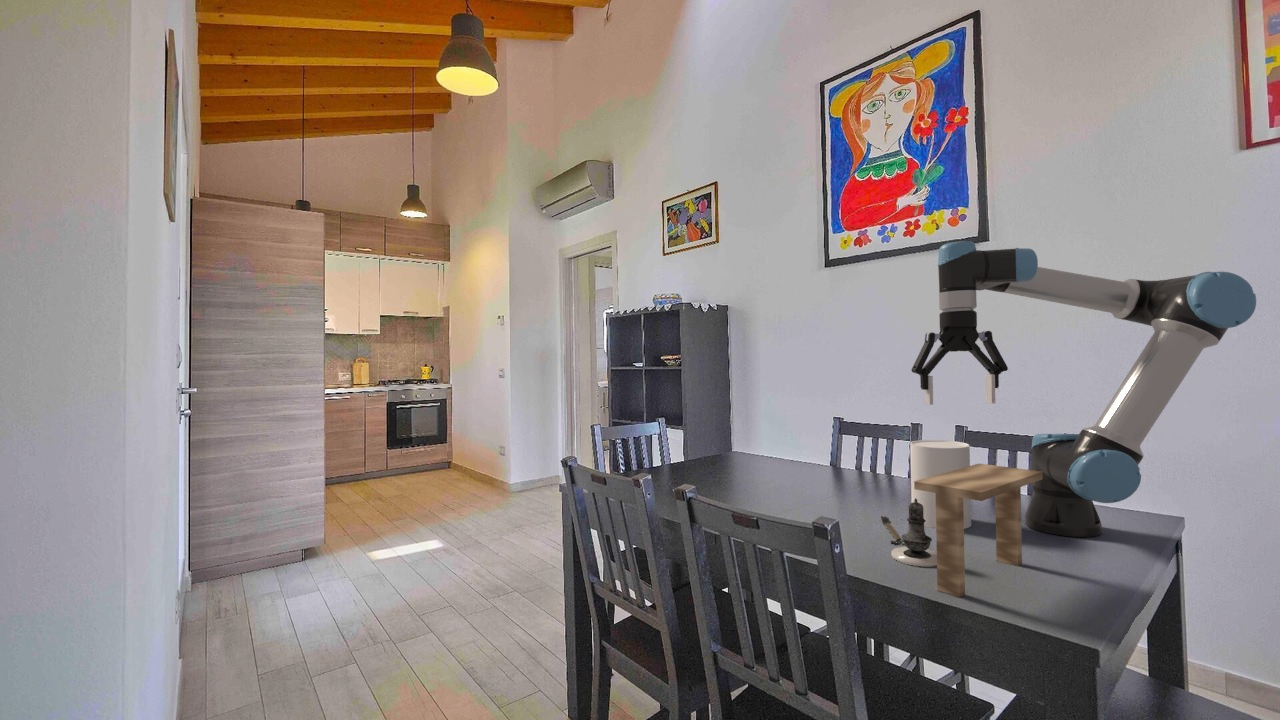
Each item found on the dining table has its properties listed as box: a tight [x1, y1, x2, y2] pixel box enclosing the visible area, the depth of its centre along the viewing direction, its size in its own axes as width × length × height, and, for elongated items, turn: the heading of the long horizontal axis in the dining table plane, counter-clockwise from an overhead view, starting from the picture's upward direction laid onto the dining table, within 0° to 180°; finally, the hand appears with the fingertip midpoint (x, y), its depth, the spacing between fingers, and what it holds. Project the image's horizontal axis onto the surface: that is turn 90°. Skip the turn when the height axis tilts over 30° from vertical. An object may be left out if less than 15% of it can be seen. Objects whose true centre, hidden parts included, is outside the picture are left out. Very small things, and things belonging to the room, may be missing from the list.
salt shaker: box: [900, 498, 933, 559], centre depth 125 cm, size 6×6×12 cm
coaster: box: [890, 546, 937, 568], centre depth 125 cm, size 10×10×1 cm
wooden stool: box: [914, 463, 1043, 598], centre depth 114 cm, size 12×26×20 cm, turn 126°
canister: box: [909, 439, 972, 530], centre depth 150 cm, size 14×14×20 cm
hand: (959, 403), depth 134 cm, fingers open, 13 cm apart
